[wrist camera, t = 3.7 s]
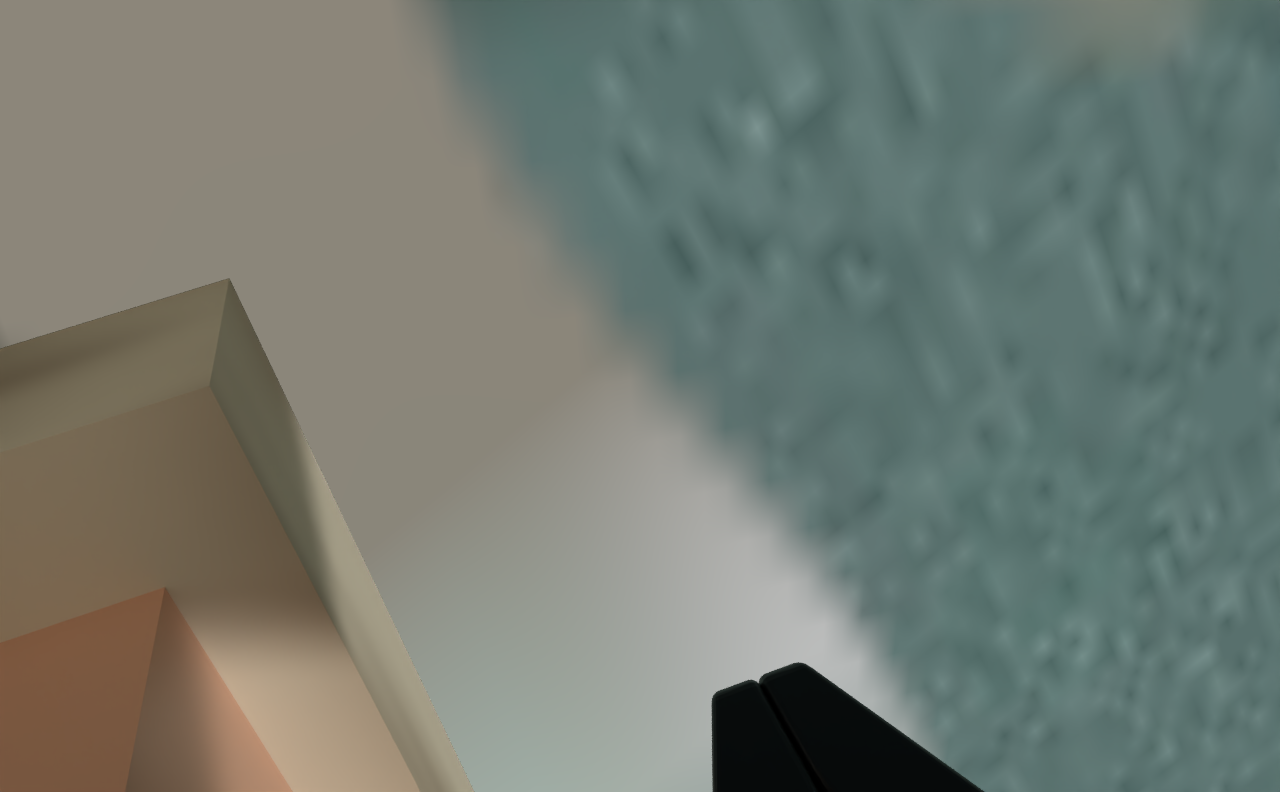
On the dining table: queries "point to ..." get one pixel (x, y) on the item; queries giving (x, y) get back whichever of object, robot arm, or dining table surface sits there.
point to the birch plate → (208, 534)
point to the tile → (124, 709)
